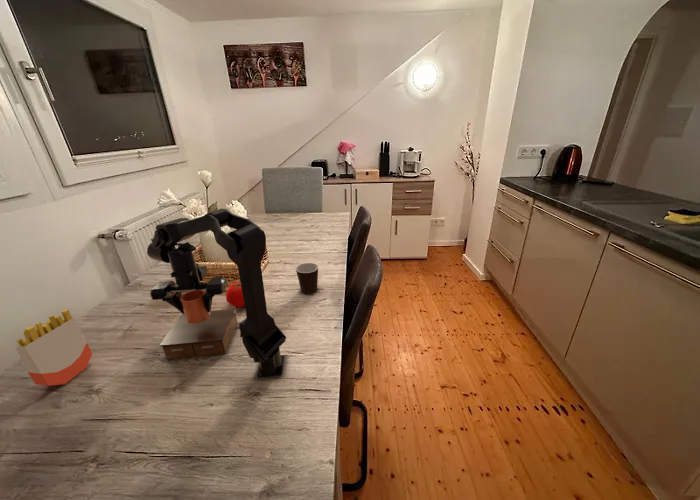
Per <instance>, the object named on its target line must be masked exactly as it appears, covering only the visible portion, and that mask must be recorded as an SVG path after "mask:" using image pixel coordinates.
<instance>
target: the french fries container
mask: <svg viewBox="0 0 700 500" xmlns="http://www.w3.org/2000/svg"><path fill="white" fill-rule="evenodd" d="M60 313H61V315H62V316H61V315H57V316H55V315H54V314H51V315H49V316H47V317H48V319H49V320H47V321H46V322H44V323H43V324H42V322H36V323H35V324H34V325H35V326H34V325H33V326H32V325H29V326H28V327H25V328H24V329H23V336H24V337H25V338H24V339H22V338H18V339H16V342H17V344H18V345H17V346H16V351H17V354H18V355H19V357H20V359H21V361H22V363H23V366H24V368H25V370H26V372H27V373H28V375H29V377H30V378H31V379H32V381H33V383H34V384H35V385H40V386H47V387H50V386H51V387H52V386H59V385H66V384H67V383H68V382H70V381H71V380H73V379H74V378H75V377H76V376H77V375H78V374H79V373H81V372H83V371H84V370H85V369H87V367H88V364H89V363H90V360H91V357H92V356H93V351H92V350H91V348H90V346H89V344H88V341H87V340H86V338H85V336H84V334H83V332H82V330H81V328H80V326H79V324H78V323H77V320H76V318H75V317H73V316H72V315H71V312H70V310H69V309H64V310H61V311H60Z"/></svg>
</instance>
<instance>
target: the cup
mask: <svg viewBox="0 0 700 500" xmlns="http://www.w3.org/2000/svg"><path fill="white" fill-rule="evenodd" d="M204 293H205V291H204V290H194V291H186V292H185V293H182V296H181V297H180V301H181V305H182V308H183V311H184V314H185V317H186V320H187V322H188V323H191V324H196V323H200V322H203V321H205V320H206V319H208V318H209V317H210V315H211V313H210V312H208V311H207V310H206V307H205V304H204V301H203V298H202V296H203V295H204Z"/></svg>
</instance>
